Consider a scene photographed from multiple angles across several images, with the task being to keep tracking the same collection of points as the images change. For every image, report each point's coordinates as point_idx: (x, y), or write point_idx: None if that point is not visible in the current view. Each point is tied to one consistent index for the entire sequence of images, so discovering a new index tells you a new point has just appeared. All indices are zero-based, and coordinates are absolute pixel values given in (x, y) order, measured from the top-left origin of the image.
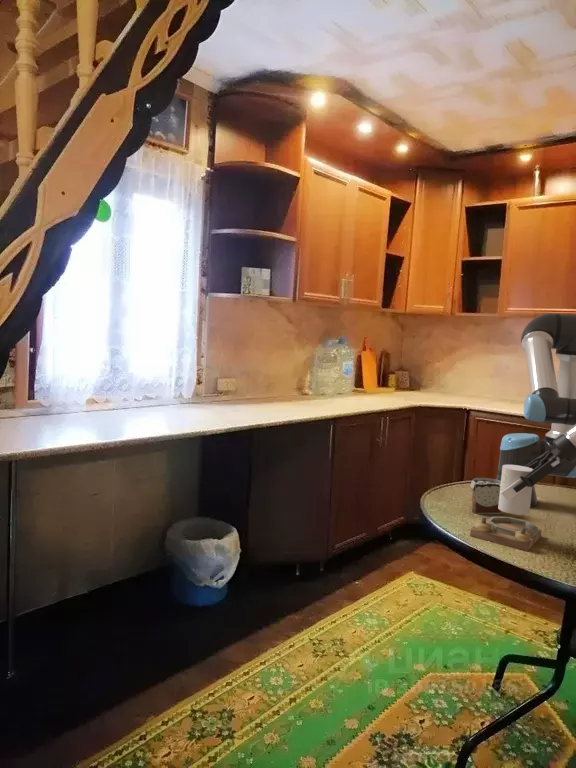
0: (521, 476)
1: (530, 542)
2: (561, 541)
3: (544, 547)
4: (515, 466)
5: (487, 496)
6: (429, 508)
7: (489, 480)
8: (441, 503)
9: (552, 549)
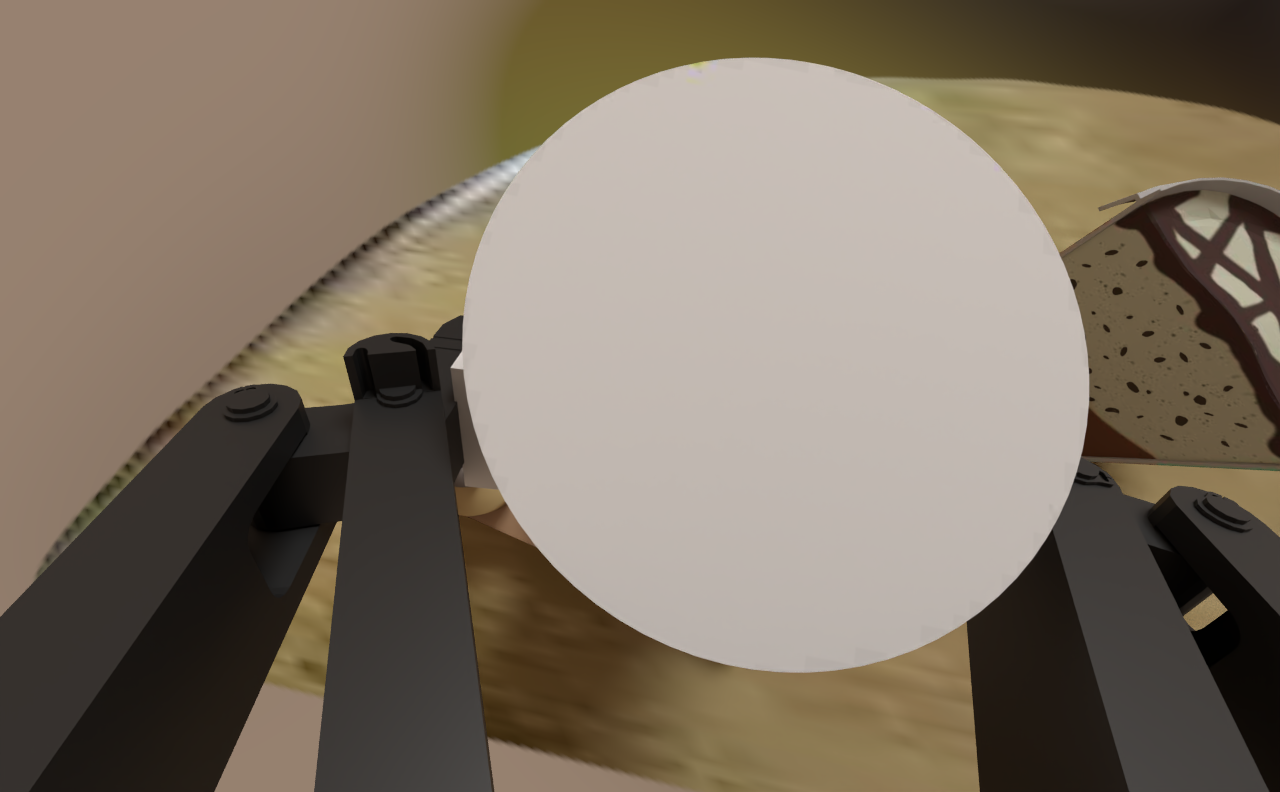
0: (373, 347)
1: (478, 520)
2: (700, 742)
3: (544, 608)
4: (918, 303)
5: (1114, 339)
6: (932, 91)
7: None
8: (1067, 155)
9: (527, 649)
